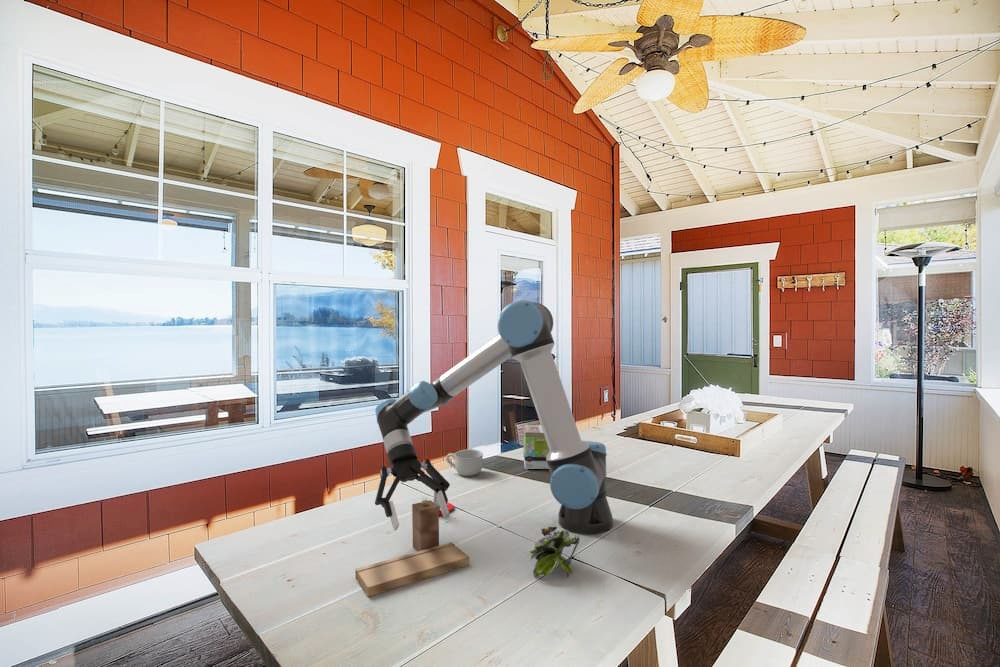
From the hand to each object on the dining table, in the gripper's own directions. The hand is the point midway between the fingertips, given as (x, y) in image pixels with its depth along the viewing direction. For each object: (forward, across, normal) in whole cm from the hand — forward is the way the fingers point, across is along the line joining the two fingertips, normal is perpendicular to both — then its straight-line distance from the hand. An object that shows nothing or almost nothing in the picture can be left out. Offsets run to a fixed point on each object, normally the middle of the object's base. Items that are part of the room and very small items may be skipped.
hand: (422, 521), depth 122 cm
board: (+12, +6, +2) cm, 13 cm away
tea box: (-25, -67, -35) cm, 80 cm away
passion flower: (+24, -21, +15) cm, 35 cm away
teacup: (-29, -38, -38) cm, 61 cm away
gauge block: (+5, 0, -4) cm, 7 cm away
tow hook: (-10, -14, -19) cm, 26 cm away
